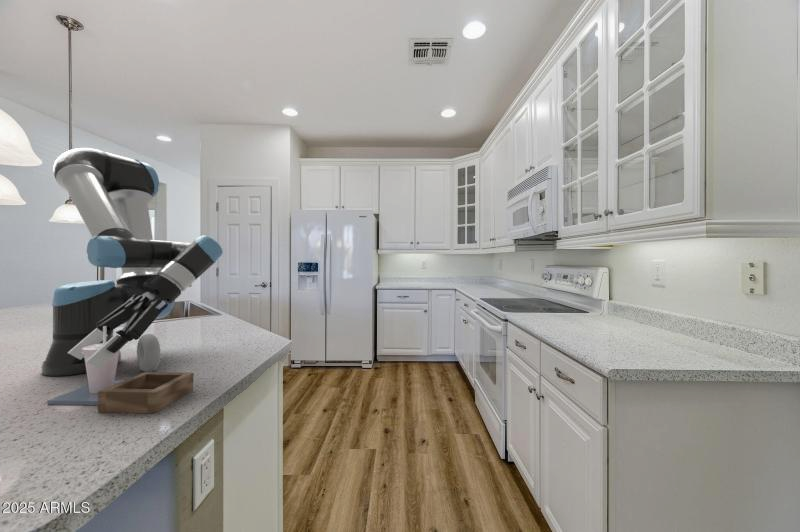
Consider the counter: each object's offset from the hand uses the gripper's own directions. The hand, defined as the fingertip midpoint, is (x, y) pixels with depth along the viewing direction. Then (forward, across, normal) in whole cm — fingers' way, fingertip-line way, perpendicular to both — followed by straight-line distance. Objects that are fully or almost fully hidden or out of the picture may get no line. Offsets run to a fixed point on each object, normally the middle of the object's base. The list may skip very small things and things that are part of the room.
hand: (82, 360), depth 65 cm
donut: (-5, +8, -16) cm, 19 cm away
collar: (+1, -13, -10) cm, 17 cm away
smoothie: (+3, 0, -7) cm, 8 cm away
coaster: (+4, 0, -8) cm, 9 cm away
